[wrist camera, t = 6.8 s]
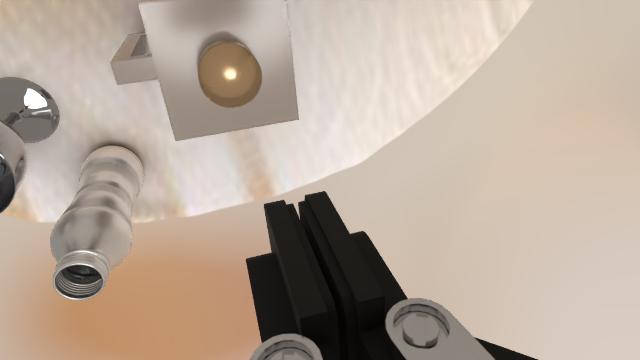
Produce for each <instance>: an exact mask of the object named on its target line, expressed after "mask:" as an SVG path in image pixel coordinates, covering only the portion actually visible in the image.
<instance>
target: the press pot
mask: <svg viewBox="0 0 640 360" xmlns="http://www.w3.org/2000/svg"><path fill="white" fill-rule="evenodd" d="M138 6H139V10H140V14H141V17H142V21H143V25H144V28H145V32H146V33H139V34H131V35H128V36H127V38H126V39H125V41H124V42H123V44H122V45H121V47H120V48H119V50H118V52H117V53H116V55H115V56H114V58H113V59H112V61H111V62H110V64H111V67H112V70H113V73H114V76H115V79H116V82H117V85H121V84H128V83H135V82H142V81H149V80H156V79H159V83H160V86H161V90H162V93H163V97H164V101H165V104H166V108H167V112H168V115H169V119H170V123H171V126H172V130H173V133H174V137H175V141H179V140H185V139H190V138H196V137H202V136H207V135H213V134H219V133H225V132H230V131H236V130H242V129H247V128H253V127H259V126H265V125H270V124H276V123H282V122H287V121H293V120H299V116H298V106H297V96H296V87H295V77H294V68H293V58H292V48H291V39H290V29H289V20H288V10H287V0H141V1H140V2H139V3H138ZM223 39H229V40H235V41H238V42H240V43H242V44H244V45H245V46H246V47H247V48H249V50H250V51H251V52H252V53H253V55H254V56H255V58H256V59H257V61H258V63H259V65H260V68H261V71H262V84H261V87H260V90H259V92H258V93H257V95H256V96H255V97H254V99H252V100H251V101H250V102H249V103H247V104H245V105H243V106H240V107H234V108H228V107H223V106H220V105H217V104H215V103H214V102H212V101H211V100H210V99H208V98H207V96H206V95H205V94H204V92H203V91H202V89H201V87H200V83H199V78H198V61H199V58H200V55H201V53H202V52H203V50H204V49H205V48H206V47H207V46H208V45H210V44H211V43H213V42H215V41H218V40H223ZM146 53H151V54H146ZM145 54H146V55H145Z"/></svg>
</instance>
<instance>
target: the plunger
mask: <svg viewBox="0 0 640 360" xmlns="http://www.w3.org/2000/svg"><path fill="white" fill-rule="evenodd" d="M198 78H199V83H200V87H201V89H202V91H203V92H204V94H205V95H206V96H207V98H208V99H210V100H211V101H212V102H214V103H215V104H217V105H220V106H223V107H228V108H234V107H240V106H243V105H245V104H247V103H249V102H250V101H251V100H252V99H254V97H255V96H256V95H257V93H258V92H259V90H260V87H261V84H262V71H261V68H260V65H259V63H258V61H257V59H256V58H255V56H254V55H253V53H252V52H251V51H250V50H249V48H247V47H246V46H245V45H244V44H242V43H240V42H238V41H235V40H229V39H223V40H218V41H215V42H213V43H211V44H210V45H208V46H207V47H206V48H205V49H204V50H203V52H202V53H201V55H200V58H199V61H198Z"/></svg>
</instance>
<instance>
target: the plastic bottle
mask: <svg viewBox="0 0 640 360" xmlns="http://www.w3.org/2000/svg"><path fill="white" fill-rule="evenodd" d="M143 182H144V172H143V167H142V164H141V161H140V160H139V158H138V157H137V156H136V155H135V154H134V153H133V152H131V151H130V150H128V149H126V148H124V147H120V146H113V145H112V146H104V147H101V148H99V149H96V150H95V151H94V152H92V153H91V154H90V155H89V156H88V157H87V158H86V159H85V160H84V162H83V164H82V166H81V169H80V175H79V187H78V191H77V194H76V196H75V197H74V199H73V201H72V203H71V205H70V206H69V207H68V208H67V210H66V211H65V212H64V213H63V215H62V216H61V217H60V218H59V220H58V221H57V223H56V225H55V226H54V228H53V230H52V233H51V236H50V244H51V252H52V255H53V257H54V259H55V260H56V261H57V265H56V271H55V273H54V276H53V286H54V288H55V290H56V291H57V292H58V293H59V294H60V295H61V296H63V297H65V298H68V299H71V300H86V299H89V298H92V297H94V296H96V295H97V294H99V293H100V292H101V291H102V289H103V288H104V286H105V283H106V279H107V277H108V275H109V272H110V271H111V270H113V269H115V268H116V267H117V266H119V265H120V264H121V263H122V262H123V260H124V259H125V258H126V256H127V255H128V253H129V251H130V248H131V245H132V225H131V214H132V206H133V203H134V201H135V198H136V196H137V195H138V193H139V191H140V189H141V187H142V185H143Z"/></svg>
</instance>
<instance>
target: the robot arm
mask: <svg viewBox="0 0 640 360" xmlns="http://www.w3.org/2000/svg"><path fill="white" fill-rule="evenodd" d="M298 206H299V214H300V219H299V216H298V214H297V212H296V209H295V208H294V205H293V204H288V205H286V203H285V201H284V200H281V201H276V202H271V203H267V204H264V210H265V216H266V222H267V228H268V233H269V239H270V245H271V251H272V253H269V254H264V255H260V256H256V257H251V258H248V259H246V263H247V268H248V273H249V279H250V284H251V289H252V294H253V299H254V305H255V310H256V315H257V320H258V326H259V331H260V336H261V341H262V344H261V345H260V346H259V347H258V348H257V349H256V350H255V351H254V353H253V355H252V357H251V358H250V360H538V359H534V358H532V357H529V356H526V355H523V354H520V353H518V352H515V351H512V350H509V349H506V348H504V347H501V346H498V345H495V344H492V343H489V342H487V341H484V340H481V339H478V338H475V337H473V336H472V335H471V334H470V333H469V332H468V331H467V330H466V329H465V328H464V326H463V325H461V323H460V322H459V321H458V320H457V319H456V318H455V317H454V316H453V315H452V314H451V313H450V312H449V311H448V310H447V309H445V308H444V307H443V306H442V305H440V304H438V303H436V302H433V301H431V300H427V299H422V298H413V299H412V298H411V299H408V298H407V297H406V295H405V294H404V292H403V290H402V289H401V287H400V286H399V284H398V283H397V281H396V279H395V278H394V276H393V275H392V273H391V271H390V270H389V268H388V267H387V265H386V264H385V262H384V260H383V259H382V257H381V256H380V254H379V252H378V251H377V249H376V248H375V246H374V245H373V243H372V241H371V240H370V238H369V237H368V235H367V234H366V233H365V232H364V231H361V232H356V233H352V234H350V233H349V232H348V230H347V228H346V226H345V225H344V223H343V221H342V219H341V218H340V216H339V214H338V212H337V211H336V209H335V207H334V206H333V204H332V202H331V200H330V198H329V197H328V195H327V193H326V192H325V191H323V192H318V193H313V194H309V195H305V201H301V202H299V203H298Z"/></svg>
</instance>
